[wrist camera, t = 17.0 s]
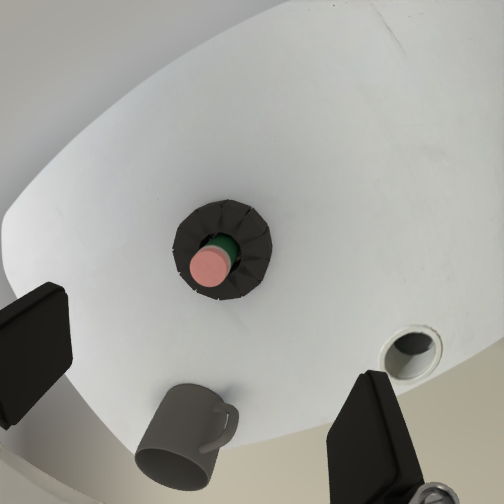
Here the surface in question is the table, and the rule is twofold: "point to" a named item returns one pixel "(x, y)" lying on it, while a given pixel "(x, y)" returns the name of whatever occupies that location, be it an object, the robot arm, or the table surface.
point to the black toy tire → (246, 235)
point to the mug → (186, 437)
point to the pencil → (214, 260)
